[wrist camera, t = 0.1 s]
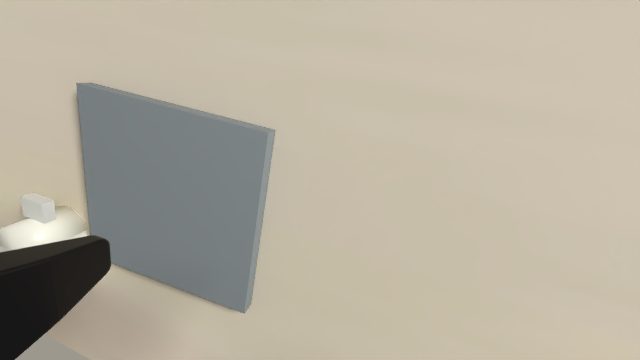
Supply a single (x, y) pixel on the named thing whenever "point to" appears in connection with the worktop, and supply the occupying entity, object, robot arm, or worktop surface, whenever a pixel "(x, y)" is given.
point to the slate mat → (176, 191)
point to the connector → (41, 224)
